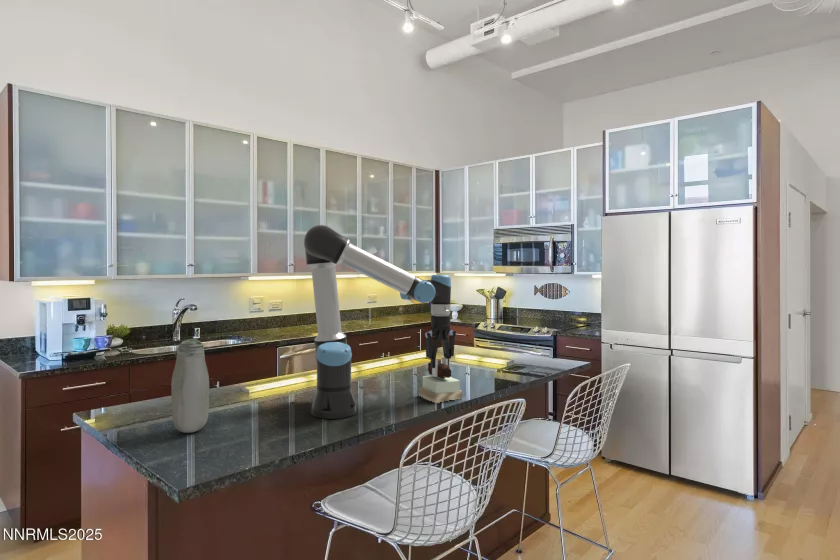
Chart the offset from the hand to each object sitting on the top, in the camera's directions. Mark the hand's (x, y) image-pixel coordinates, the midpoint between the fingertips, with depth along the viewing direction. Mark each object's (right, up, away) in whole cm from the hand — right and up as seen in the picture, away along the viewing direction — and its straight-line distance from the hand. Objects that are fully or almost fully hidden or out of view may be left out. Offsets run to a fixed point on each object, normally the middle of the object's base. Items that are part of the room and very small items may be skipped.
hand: (439, 375), depth 200 cm
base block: (0, -9, 0) cm, 9 cm away
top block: (0, -5, 0) cm, 5 cm away
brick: (0, 0, 0) cm, 1 cm away
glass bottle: (-77, -9, -42) cm, 88 cm away
